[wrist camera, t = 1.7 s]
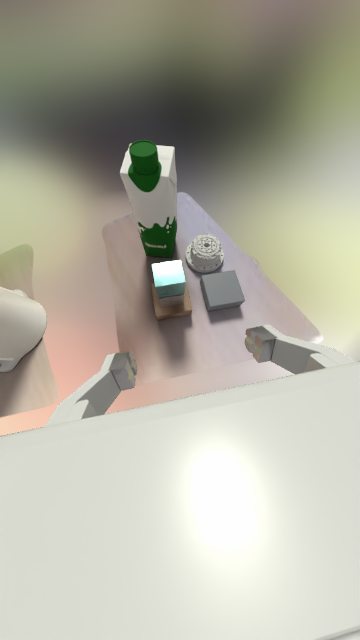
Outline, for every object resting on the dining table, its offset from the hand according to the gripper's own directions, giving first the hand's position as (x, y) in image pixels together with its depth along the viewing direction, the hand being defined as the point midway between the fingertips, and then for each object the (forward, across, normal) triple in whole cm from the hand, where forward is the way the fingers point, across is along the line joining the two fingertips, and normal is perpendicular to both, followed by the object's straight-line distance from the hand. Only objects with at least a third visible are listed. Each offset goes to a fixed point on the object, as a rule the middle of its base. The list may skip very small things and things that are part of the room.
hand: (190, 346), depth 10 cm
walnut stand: (+25, 0, +6) cm, 26 cm away
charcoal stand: (+25, -12, +6) cm, 29 cm away
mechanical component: (+34, -10, -2) cm, 35 cm away
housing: (+23, 0, +4) cm, 23 cm away
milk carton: (+37, 0, -6) cm, 38 cm away
